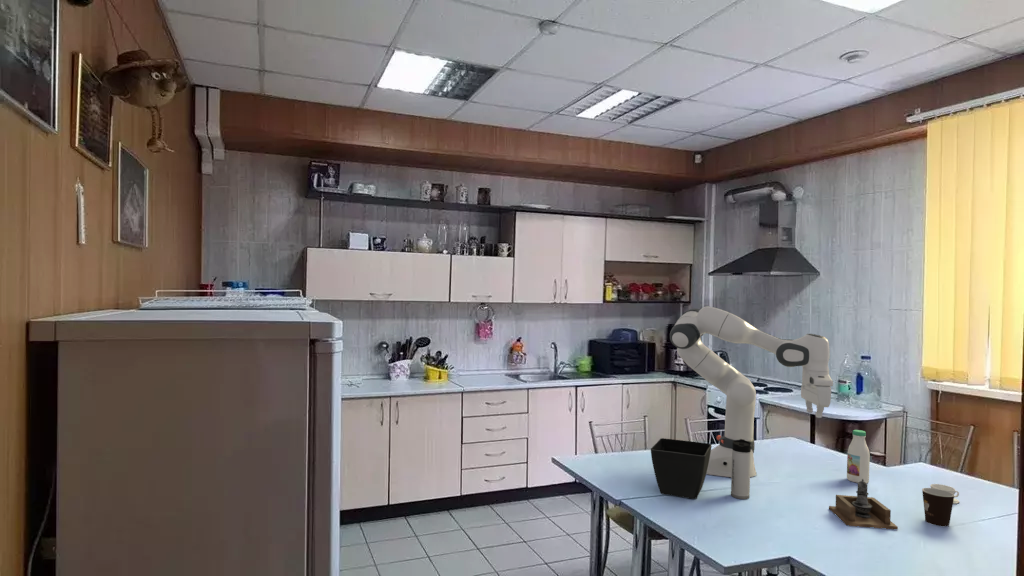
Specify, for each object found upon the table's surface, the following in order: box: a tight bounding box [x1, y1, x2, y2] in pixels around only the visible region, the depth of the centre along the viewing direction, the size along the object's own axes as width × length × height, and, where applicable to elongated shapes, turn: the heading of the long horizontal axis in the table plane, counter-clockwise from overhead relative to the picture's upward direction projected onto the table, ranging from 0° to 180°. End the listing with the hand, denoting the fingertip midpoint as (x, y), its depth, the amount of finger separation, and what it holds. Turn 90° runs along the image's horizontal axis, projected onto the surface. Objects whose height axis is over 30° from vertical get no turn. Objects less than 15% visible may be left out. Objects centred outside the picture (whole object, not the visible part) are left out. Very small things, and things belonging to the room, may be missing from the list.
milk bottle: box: [846, 429, 871, 484], centre depth 239 cm, size 8×8×20 cm
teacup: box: [929, 483, 960, 505], centre depth 220 cm, size 10×10×5 cm
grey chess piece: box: [852, 479, 872, 518], centre depth 198 cm, size 6×6×12 cm
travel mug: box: [730, 439, 751, 500], centre depth 216 cm, size 6×7×20 cm
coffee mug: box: [921, 487, 955, 528], centre depth 198 cm, size 12×9×10 cm
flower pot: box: [650, 437, 713, 500], centre depth 219 cm, size 19×19×17 cm
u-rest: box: [828, 494, 899, 530], centre depth 198 cm, size 15×15×6 cm
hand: (814, 414), depth 223 cm, fingers open, 8 cm apart
